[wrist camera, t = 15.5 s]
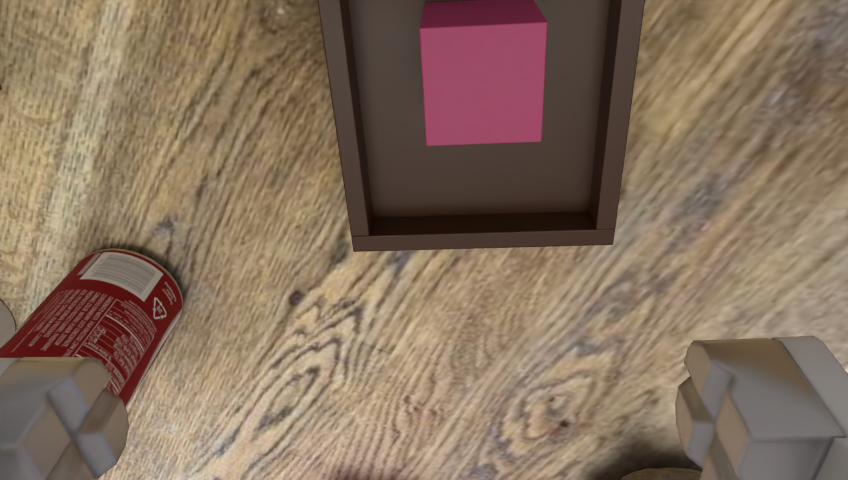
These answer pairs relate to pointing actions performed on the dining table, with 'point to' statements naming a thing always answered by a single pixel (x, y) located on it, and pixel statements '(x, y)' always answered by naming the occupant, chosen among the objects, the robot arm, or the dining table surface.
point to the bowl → (664, 474)
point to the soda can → (105, 317)
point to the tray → (481, 163)
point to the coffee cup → (5, 324)
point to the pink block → (483, 71)
